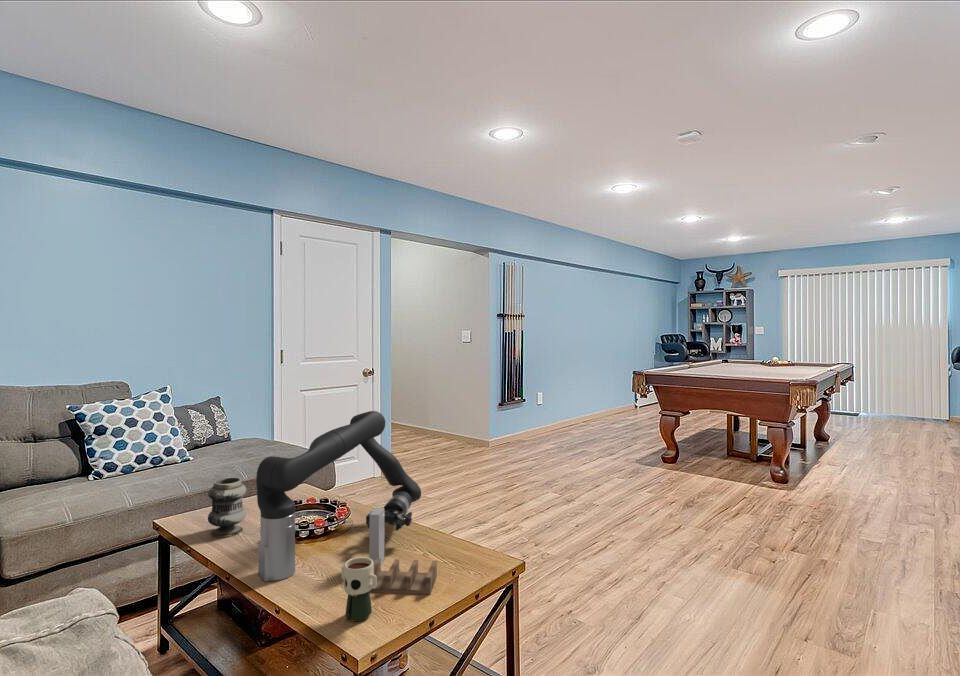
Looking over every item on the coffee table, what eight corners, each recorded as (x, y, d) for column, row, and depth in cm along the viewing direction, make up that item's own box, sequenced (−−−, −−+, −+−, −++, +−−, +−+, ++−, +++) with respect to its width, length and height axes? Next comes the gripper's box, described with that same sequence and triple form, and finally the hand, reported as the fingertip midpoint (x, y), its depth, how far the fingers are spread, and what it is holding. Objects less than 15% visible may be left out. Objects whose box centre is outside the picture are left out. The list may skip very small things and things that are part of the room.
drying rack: (430, 594, 138) (430, 577, 138) (366, 591, 139) (366, 574, 139) (436, 576, 148) (436, 560, 148) (376, 574, 149) (376, 558, 149)
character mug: (331, 616, 127) (331, 563, 127) (351, 603, 133) (352, 552, 133) (365, 629, 122) (366, 574, 121) (385, 615, 128) (385, 562, 128)
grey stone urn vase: (222, 541, 172) (222, 487, 171) (199, 534, 177) (199, 481, 177) (254, 529, 182) (254, 478, 182) (232, 523, 188) (232, 473, 188)
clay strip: (378, 569, 152) (378, 514, 152) (369, 569, 152) (369, 514, 152) (384, 560, 158) (384, 507, 158) (375, 560, 158) (375, 507, 158)
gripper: (375, 497, 179) (361, 514, 163) (416, 499, 178) (406, 515, 162) (375, 519, 180) (361, 537, 163) (416, 520, 178) (406, 539, 162)
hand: (383, 526), depth 163 cm, fingers open, 8 cm apart
